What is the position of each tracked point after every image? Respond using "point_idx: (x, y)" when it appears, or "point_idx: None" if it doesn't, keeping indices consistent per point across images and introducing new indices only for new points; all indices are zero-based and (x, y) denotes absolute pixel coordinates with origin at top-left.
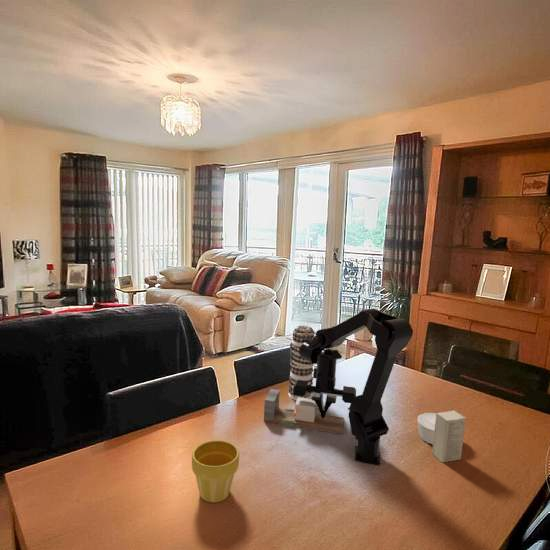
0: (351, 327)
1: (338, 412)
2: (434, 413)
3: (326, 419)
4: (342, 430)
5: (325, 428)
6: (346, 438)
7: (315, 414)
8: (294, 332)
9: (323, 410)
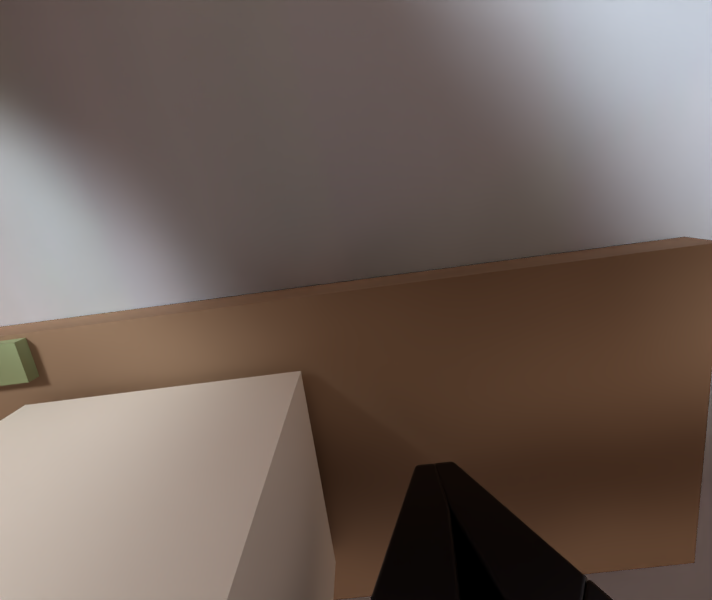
0: None
1: (600, 6)
2: None
3: (469, 400)
4: (691, 557)
5: None
6: (704, 581)
7: (304, 419)
8: None
9: (451, 521)
